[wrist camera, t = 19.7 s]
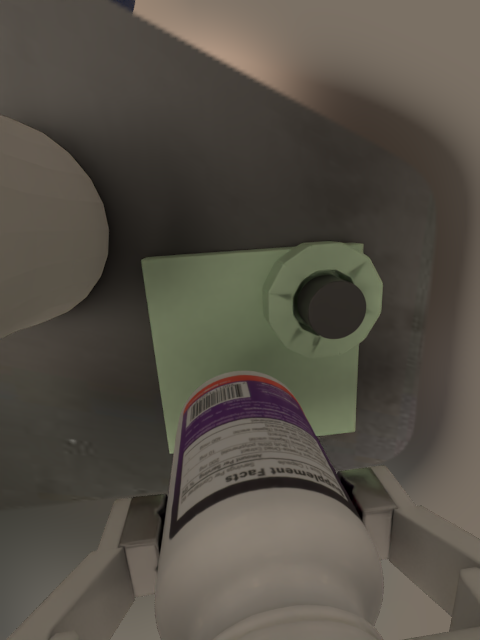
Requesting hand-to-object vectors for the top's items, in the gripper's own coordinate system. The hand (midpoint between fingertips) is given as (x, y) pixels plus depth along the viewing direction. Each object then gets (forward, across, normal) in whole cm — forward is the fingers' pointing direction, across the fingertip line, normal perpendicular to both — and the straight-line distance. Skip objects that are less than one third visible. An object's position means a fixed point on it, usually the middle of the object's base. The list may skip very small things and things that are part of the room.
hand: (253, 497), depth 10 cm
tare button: (+7, -5, -4) cm, 9 cm away
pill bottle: (+4, 0, 0) cm, 4 cm away
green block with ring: (+9, -2, -1) cm, 9 cm away
